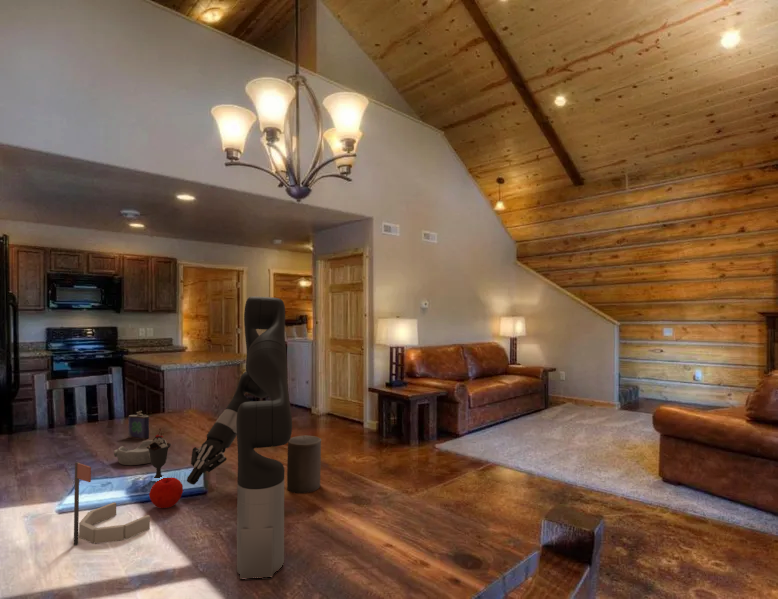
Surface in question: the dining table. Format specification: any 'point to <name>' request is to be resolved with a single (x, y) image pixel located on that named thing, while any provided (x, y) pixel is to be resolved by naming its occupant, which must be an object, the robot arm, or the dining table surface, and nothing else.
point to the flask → (138, 426)
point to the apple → (166, 492)
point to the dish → (134, 454)
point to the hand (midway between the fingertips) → (190, 483)
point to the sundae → (158, 453)
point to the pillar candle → (303, 464)
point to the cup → (101, 517)
